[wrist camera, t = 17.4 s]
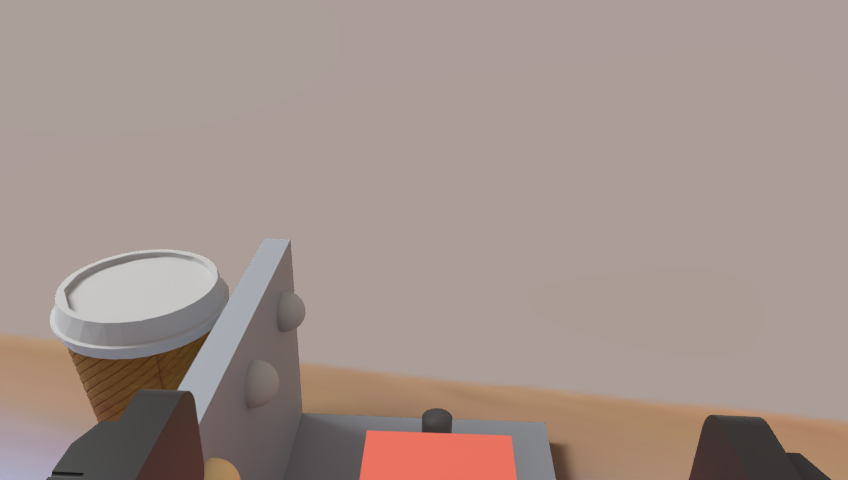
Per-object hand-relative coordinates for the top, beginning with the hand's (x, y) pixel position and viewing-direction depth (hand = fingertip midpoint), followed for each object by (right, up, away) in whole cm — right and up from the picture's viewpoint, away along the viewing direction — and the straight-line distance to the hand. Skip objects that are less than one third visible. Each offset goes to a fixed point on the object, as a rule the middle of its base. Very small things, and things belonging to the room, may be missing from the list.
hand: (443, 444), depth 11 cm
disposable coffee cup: (-17, -10, +33) cm, 38 cm away
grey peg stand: (-1, -14, +25) cm, 29 cm away
